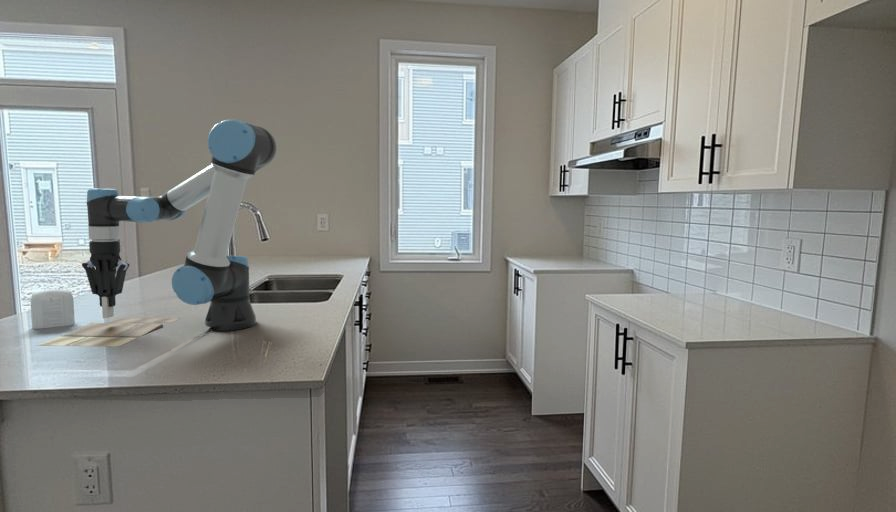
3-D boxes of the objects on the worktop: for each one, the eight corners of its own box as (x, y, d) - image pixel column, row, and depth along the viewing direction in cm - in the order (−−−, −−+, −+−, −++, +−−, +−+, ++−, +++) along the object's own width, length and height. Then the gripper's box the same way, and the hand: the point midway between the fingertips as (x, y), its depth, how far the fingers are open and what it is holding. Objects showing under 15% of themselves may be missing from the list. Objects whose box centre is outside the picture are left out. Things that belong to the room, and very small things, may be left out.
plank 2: (180, 321, 158) (180, 318, 158) (172, 326, 153) (172, 322, 153) (116, 322, 157) (116, 318, 156) (106, 326, 151) (106, 322, 151)
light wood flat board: (139, 340, 137) (139, 336, 137) (118, 350, 128) (118, 346, 128) (63, 339, 137) (62, 335, 137) (36, 349, 128) (35, 344, 128)
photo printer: (76, 325, 152) (73, 287, 150) (74, 328, 148) (71, 289, 147) (33, 329, 146) (30, 290, 145) (31, 333, 143) (27, 292, 141)
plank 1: (163, 327, 148) (162, 323, 148) (140, 340, 137) (140, 336, 137) (92, 326, 148) (91, 322, 148) (64, 339, 137) (63, 334, 137)
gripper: (134, 240, 146) (137, 314, 149) (92, 238, 146) (95, 313, 149) (117, 242, 139) (121, 321, 142) (73, 240, 139) (77, 319, 142)
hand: (108, 316), depth 145 cm, fingers closed
